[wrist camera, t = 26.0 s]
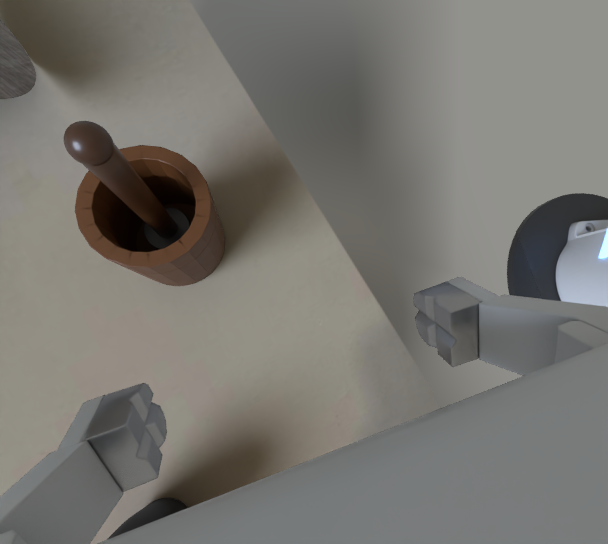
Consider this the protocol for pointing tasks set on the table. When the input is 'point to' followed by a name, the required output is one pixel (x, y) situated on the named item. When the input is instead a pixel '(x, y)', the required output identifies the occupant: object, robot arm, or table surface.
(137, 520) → the mug
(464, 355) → the robot arm
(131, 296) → the table surface
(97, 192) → the wooden mortar
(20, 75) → the potted plant
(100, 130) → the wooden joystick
